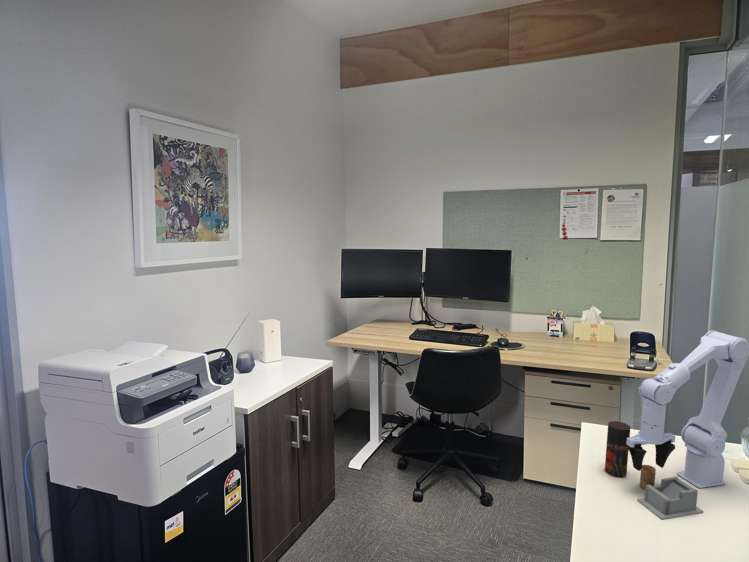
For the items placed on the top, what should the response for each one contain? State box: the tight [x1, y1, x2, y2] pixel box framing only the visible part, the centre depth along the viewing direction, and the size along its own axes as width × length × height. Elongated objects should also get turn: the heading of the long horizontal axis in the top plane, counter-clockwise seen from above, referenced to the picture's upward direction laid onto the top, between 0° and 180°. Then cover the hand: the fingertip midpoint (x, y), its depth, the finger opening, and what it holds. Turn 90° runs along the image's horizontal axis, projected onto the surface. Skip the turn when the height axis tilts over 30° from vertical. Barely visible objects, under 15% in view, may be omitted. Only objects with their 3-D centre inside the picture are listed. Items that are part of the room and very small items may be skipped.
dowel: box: [639, 464, 657, 491], centre depth 138 cm, size 4×4×6 cm
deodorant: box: [604, 420, 631, 479], centre depth 145 cm, size 6×6×15 cm
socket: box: [636, 476, 704, 520], centre depth 129 cm, size 13×8×6 cm, turn 103°
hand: (648, 467), depth 138 cm, fingers open, 7 cm apart
